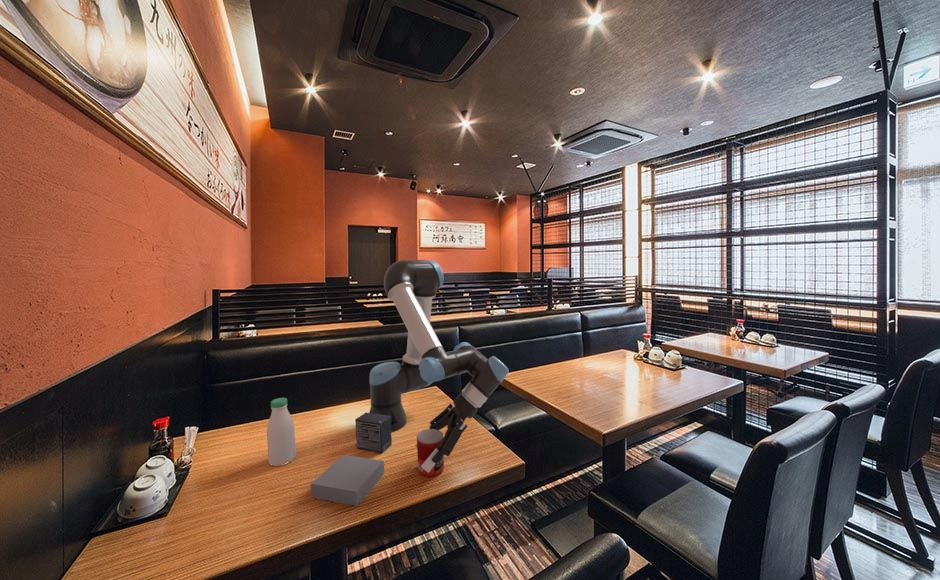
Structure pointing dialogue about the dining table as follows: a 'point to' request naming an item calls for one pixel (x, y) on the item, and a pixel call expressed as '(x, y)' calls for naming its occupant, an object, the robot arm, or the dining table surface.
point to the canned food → (429, 450)
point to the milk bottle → (280, 434)
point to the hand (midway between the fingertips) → (421, 458)
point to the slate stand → (348, 480)
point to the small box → (373, 432)
